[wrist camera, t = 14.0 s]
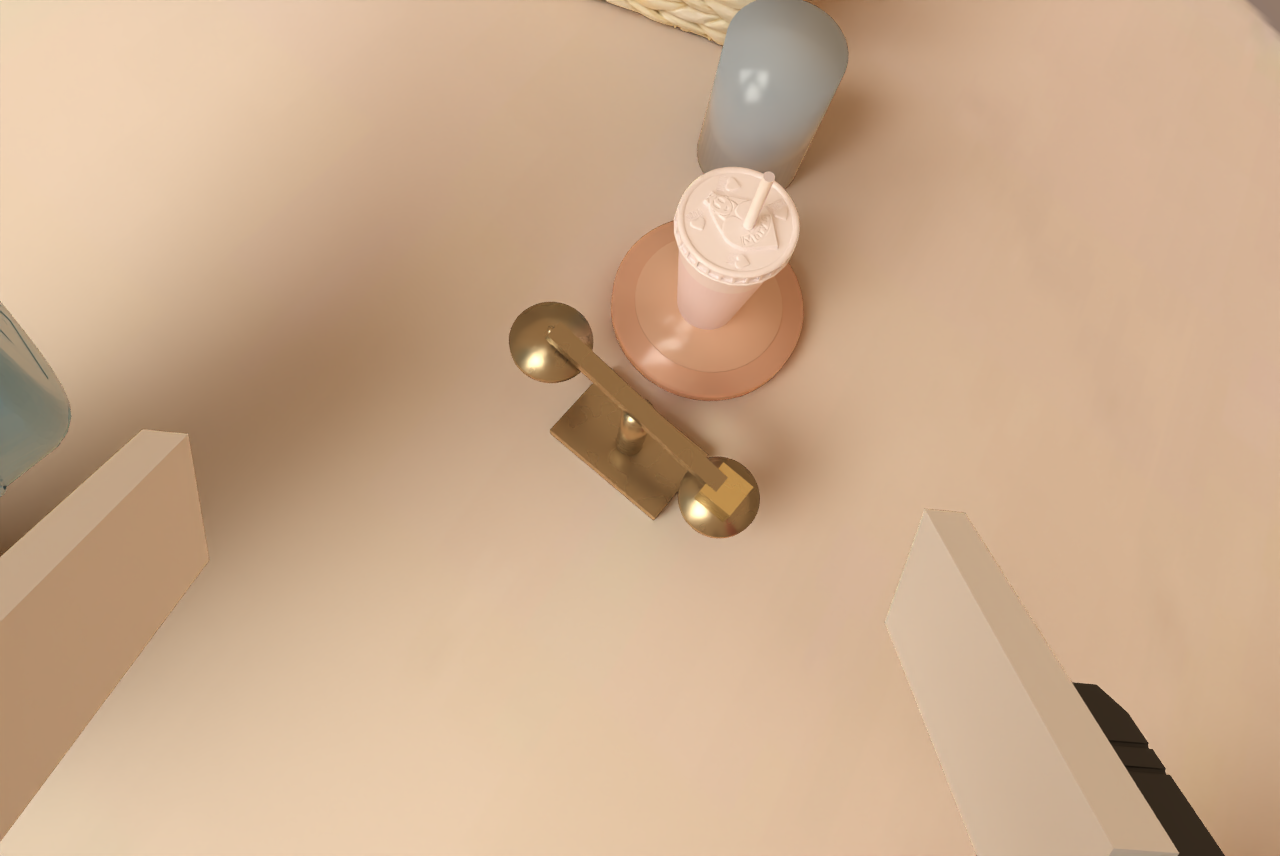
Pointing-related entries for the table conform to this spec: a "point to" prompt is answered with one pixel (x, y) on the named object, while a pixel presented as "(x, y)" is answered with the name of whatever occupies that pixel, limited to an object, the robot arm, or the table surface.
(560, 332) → the balance
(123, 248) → the table surface
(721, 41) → the storage basket
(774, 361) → the dish
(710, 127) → the grey domed cylinder
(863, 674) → the table surface
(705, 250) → the smoothie
